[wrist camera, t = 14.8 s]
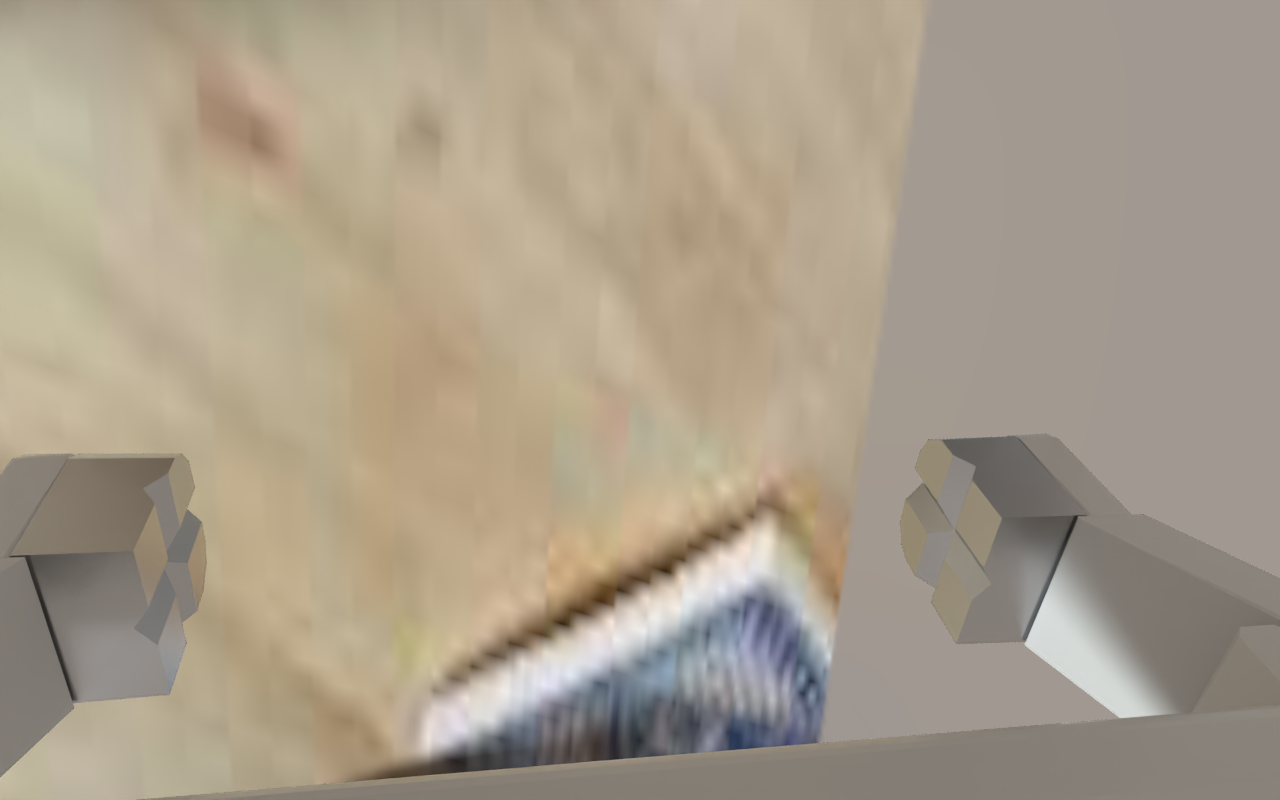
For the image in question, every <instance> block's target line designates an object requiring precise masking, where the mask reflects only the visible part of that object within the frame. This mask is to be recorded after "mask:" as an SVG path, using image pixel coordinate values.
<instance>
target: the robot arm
mask: <svg viewBox="0 0 1280 800" xmlns="http://www.w3.org/2000/svg"><path fill="white" fill-rule="evenodd" d="M915 470H916V471H917V473H918V475H919V477H920V479H921V481H922V484H921V485H920V486H919V487H918V488H917V489H916V490H915V491H914V492H912V494H910V495H909V496H908V497H907V498H906V501H905V504H904V508H903V513H902V516H901V520H900V527H901V545H902V548H903V551H904V555H905V558H906V561H907V562H908V564H909V566H910V568H911V569H912V571H913V573H914V575H915V576H917V577H918V578H920V579H921V580H923V581H925V582H926V583H928V584H929V585H931V586H932V587H934V588H935V591H934V594H933V597H932V601H931V603H932V605H933V607H934V608H935V610H936V612H937V613H938V615H939V617H940V618H941V620H942V622H943V623H944V625H945V626H946V628H947V630H948V631H949V633H950V635H951V636H952V638H953V640H954V641H955V643H956V644H974V643H1001V642H1026V643H1025V646H1027V647H1028V648H1029V649H1030V650H1032V651H1033V652H1034V653H1036V654H1037V655H1038V656H1040V657H1041V658H1042V659H1043V660H1045V661H1046V662H1047V663H1049V664H1050V665H1051V666H1053V667H1054V668H1055V669H1057V670H1058V671H1059V672H1060V673H1062V674H1063V675H1065V676H1066V677H1067V678H1068V679H1070V680H1071V681H1072V682H1074V683H1075V684H1076V685H1077V686H1079V687H1080V688H1081V689H1083V690H1084V691H1086V692H1087V693H1088V694H1089V695H1091V696H1092V697H1093V698H1094V699H1096V700H1097V701H1098V702H1100V703H1101V704H1102V705H1104V706H1105V707H1106V708H1108V709H1109V710H1110V711H1111V712H1113V713H1114V714H1116V715H1117V716H1118V717H1119V718H1117V719H1105V720H1093V721H1081V722H1069V723H1057V724H1045V725H1034V726H1022V727H1009V728H996V729H984V730H972V731H961V732H948V733H936V734H924V735H912V736H900V737H888V738H876V739H865V740H852V741H839V742H827V743H815V744H802V745H790V746H778V747H765V748H753V749H741V750H729V751H716V752H704V753H692V754H679V755H667V756H655V757H643V758H630V759H618V760H606V761H594V762H581V763H569V764H557V765H545V766H533V767H521V768H509V769H497V770H485V771H474V772H462V773H450V774H438V775H426V776H414V777H402V778H390V779H379V780H367V781H355V782H343V783H331V784H319V785H307V786H296V787H284V788H272V789H260V790H248V791H236V792H224V793H213V794H201V795H189V796H176V797H164V798H151V799H138V800H1280V578H1278V577H1276V576H1274V575H1272V574H1270V573H1268V572H1265V571H1263V570H1261V569H1259V568H1257V567H1255V566H1253V565H1250V564H1248V563H1246V562H1244V561H1242V560H1240V559H1238V558H1236V557H1234V556H1231V555H1229V554H1227V553H1225V552H1223V551H1221V550H1219V549H1217V548H1214V547H1212V546H1210V545H1208V544H1206V543H1204V542H1201V541H1200V540H1197V539H1195V538H1193V537H1191V536H1189V535H1187V534H1185V533H1183V532H1180V531H1178V530H1176V529H1174V528H1172V527H1170V526H1168V525H1165V524H1163V523H1161V522H1159V521H1157V520H1155V519H1152V518H1150V517H1148V516H1146V515H1144V514H1138V515H1137V514H1135V515H1132V514H1131V513H1130V512H1129V511H1128V510H1127V509H1126V508H1125V507H1124V506H1123V505H1122V504H1121V503H1120V502H1119V501H1118V500H1117V499H1116V498H1115V497H1114V496H1113V495H1112V494H1111V493H1110V492H1109V491H1108V489H1107V488H1106V487H1105V486H1104V485H1103V484H1102V483H1101V482H1100V481H1099V480H1098V479H1097V478H1096V477H1095V476H1094V475H1093V474H1092V473H1091V472H1090V471H1089V470H1088V469H1087V468H1086V467H1085V466H1084V465H1083V463H1082V462H1081V461H1080V460H1078V458H1077V457H1076V456H1075V455H1074V454H1073V453H1072V452H1071V451H1070V450H1069V449H1068V448H1067V447H1066V446H1065V445H1064V444H1063V443H1062V442H1061V441H1060V440H1059V439H1058V438H1056V437H1053V436H1051V435H1049V434H1031V435H1030V434H1029V435H1011V436H1007V437H982V438H955V439H930V440H928V441H927V442H926V444H925V445H924V446H923V448H922V449H921V450H920V453H919V457H918V460H917V463H916V466H915ZM194 489H195V485H194V481H193V477H192V472H191V468H190V464H189V461H188V460H187V459H186V458H185V457H184V455H183V454H77V455H74V454H33V455H21V456H19V457H16V458H13V459H12V460H11V461H10V462H9V463H8V464H7V466H6V467H5V469H4V470H3V471H2V473H1V474H0V777H1V776H2V775H3V774H4V773H5V772H6V771H7V770H9V769H10V768H11V767H12V766H13V765H14V764H15V763H16V762H17V761H18V760H19V759H20V758H21V757H22V756H23V755H25V754H26V753H27V752H28V751H29V750H30V749H31V748H32V747H33V746H34V745H35V744H36V743H37V742H38V741H39V740H41V739H42V738H43V737H44V736H45V735H46V734H47V733H48V732H49V731H50V730H51V729H52V728H53V727H54V726H55V725H57V724H58V723H59V722H60V721H61V720H62V719H63V718H64V717H65V716H66V715H67V714H68V713H69V712H70V711H71V710H73V709H74V705H73V703H81V702H92V701H103V700H115V699H126V698H137V697H148V696H159V695H170V692H171V689H172V686H173V683H174V680H175V677H176V674H177V671H178V668H179V665H180V662H181V659H182V656H183V653H184V650H185V647H186V644H187V642H186V638H185V633H184V628H183V624H182V622H184V621H185V620H186V619H187V618H189V617H190V616H191V615H193V614H194V613H195V612H196V611H197V610H198V607H199V603H200V600H201V597H202V593H203V590H204V582H205V573H206V564H207V561H206V543H205V536H204V531H203V525H202V522H201V521H200V520H199V519H198V518H197V517H196V516H194V515H193V514H192V513H191V512H190V511H189V510H187V508H188V505H189V502H190V500H191V497H192V494H193V492H194Z"/></svg>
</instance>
